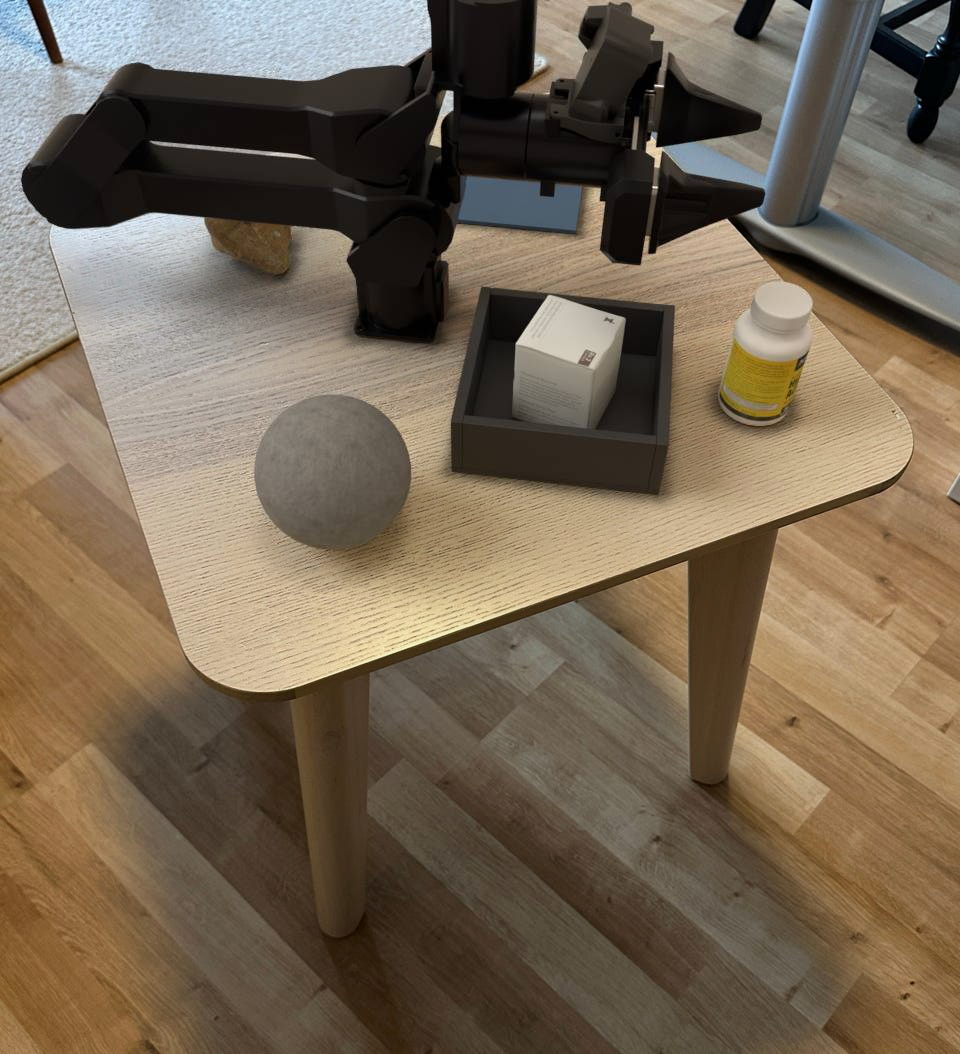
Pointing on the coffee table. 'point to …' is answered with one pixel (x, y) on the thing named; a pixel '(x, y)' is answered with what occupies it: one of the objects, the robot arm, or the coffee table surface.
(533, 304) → the bin
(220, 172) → the robot arm
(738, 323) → the supplement bottle
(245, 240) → the fossil
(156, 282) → the coffee table surface
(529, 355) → the product carton
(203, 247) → the coffee table surface
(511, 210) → the mat
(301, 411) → the decorative ball
